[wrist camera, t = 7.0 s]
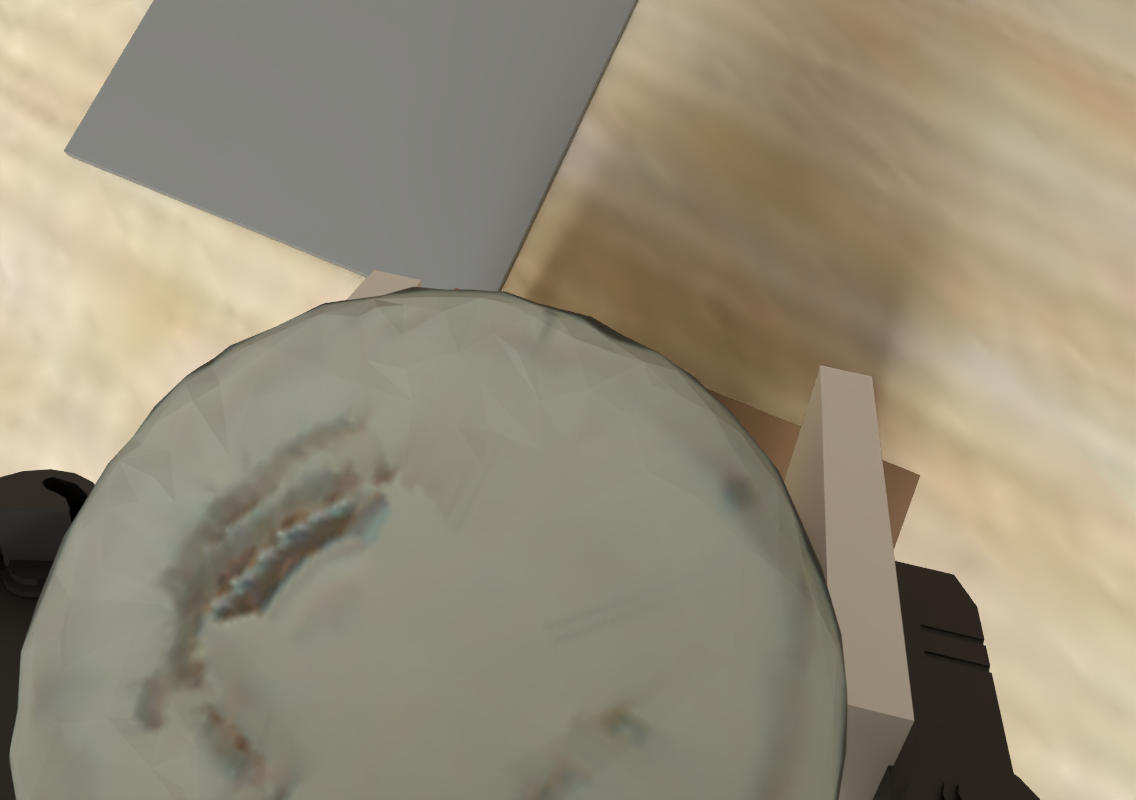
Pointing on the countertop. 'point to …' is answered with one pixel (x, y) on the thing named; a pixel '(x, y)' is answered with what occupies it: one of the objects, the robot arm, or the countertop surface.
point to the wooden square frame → (780, 445)
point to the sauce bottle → (435, 579)
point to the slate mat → (358, 122)
